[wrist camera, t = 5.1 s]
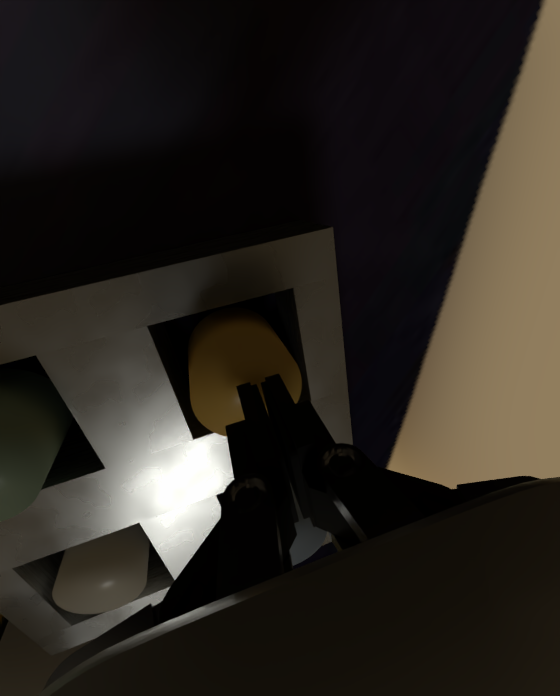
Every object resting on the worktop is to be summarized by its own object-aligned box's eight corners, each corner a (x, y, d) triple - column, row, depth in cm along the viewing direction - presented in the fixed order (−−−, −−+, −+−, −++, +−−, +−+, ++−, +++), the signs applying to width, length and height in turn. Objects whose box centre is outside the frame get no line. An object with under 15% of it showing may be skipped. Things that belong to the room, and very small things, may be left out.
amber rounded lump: (174, 321, 15) (173, 361, 11) (267, 297, 15) (292, 327, 12) (202, 398, 17) (208, 451, 13) (282, 373, 17) (308, 418, 14)
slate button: (229, 471, 19) (240, 532, 16) (297, 447, 20) (322, 501, 17) (245, 517, 21) (258, 579, 18) (307, 494, 22) (331, 549, 19)
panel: (-166, 325, 13) (-291, 373, 10) (300, 219, 16) (332, 227, 13) (71, 584, 22) (51, 656, 19) (335, 484, 26) (360, 529, 22)
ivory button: (60, 511, 19) (34, 582, 16) (136, 485, 20) (127, 547, 16) (93, 553, 21) (77, 624, 18) (161, 528, 22) (158, 592, 18)
